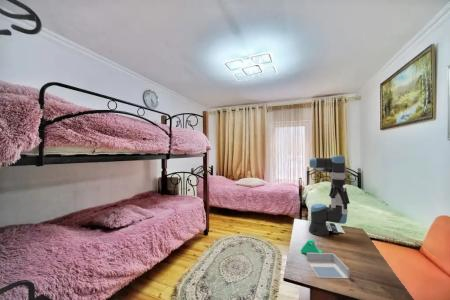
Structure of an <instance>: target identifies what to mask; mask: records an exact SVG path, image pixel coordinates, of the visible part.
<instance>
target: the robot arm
mask: <svg viewBox="0 0 450 300" xmlns="http://www.w3.org/2000/svg"><path fill="white" fill-rule="evenodd" d="M309 167H310V168H313V169H315V170H316V171H319V172H322V173H328V175H329V176H330V191H329V195H328V197H330V198H331V199H330V204H329V205H328V206H327V205H326V204H322V203H315V204H312V205H311V206H310V223H309V226H308V232H309V233H311V234H312V235H314V236H319V237H327V236H329V229H328V226H327V222H328V223H333V224H334V223H335V224H339V225H340V224H343V225H345V224H346V222H347V218H348V213H349V212H348V205H349V204H350V203H351V202H350V200H349V199H350V198H349V195H348V192H347V187H344V186H346V173H347V168H346V157H345V155H332V156H331V157H310V158H309Z"/></svg>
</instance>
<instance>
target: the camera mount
mask: <svg viewBox="0 0 450 300" xmlns="http://www.w3.org/2000/svg"><path fill="white" fill-rule="evenodd" d="M300 252H301V253H302V254H306V255H307V253H323V250H321V249H319V248H318V247H317V246H316V244H315V241H314V240H313V239H311V238H310V239H309V238H308V240H307V241H306V243H305V244H304V245H303V246H302V247H301V249H300Z"/></svg>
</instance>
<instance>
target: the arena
mask: <svg viewBox="0 0 450 300" xmlns="http://www.w3.org/2000/svg"><path fill="white" fill-rule="evenodd" d="M306 262H307V264H308V265H309V266H310V268H311V270H313V272H314V274H315V275H316V276H317V278H318V279H345V280H346V279H350V278H351V276H350V275H351V274H350V273H351V271H350V268H349V267H348V266H347V265H346V264H345V263H344V262H343V261H342V260H341V259H340V258H339V257H338V256H337V255H336V254H335V253H334V252H332V253H331V252H322V253H307V254H306Z"/></svg>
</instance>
